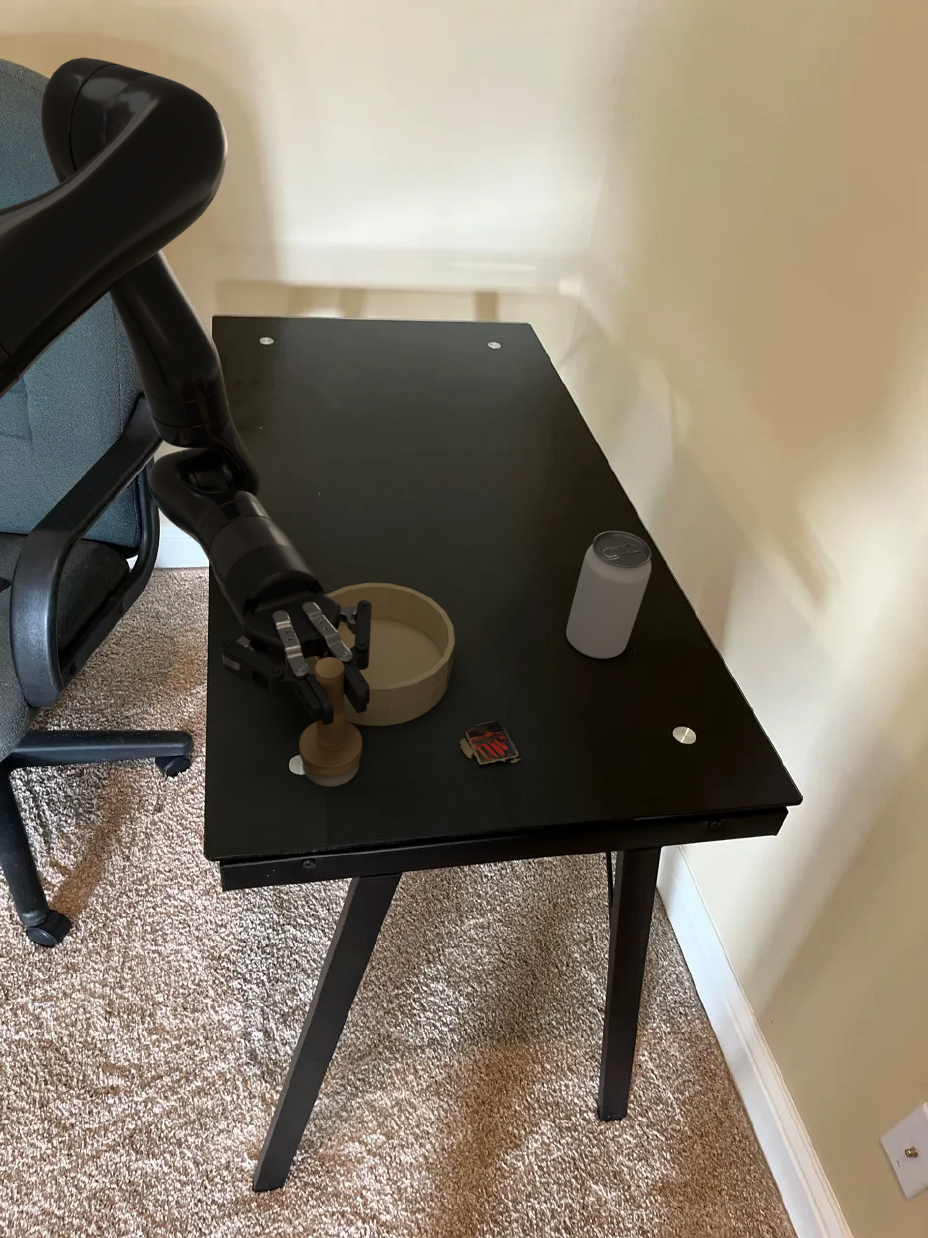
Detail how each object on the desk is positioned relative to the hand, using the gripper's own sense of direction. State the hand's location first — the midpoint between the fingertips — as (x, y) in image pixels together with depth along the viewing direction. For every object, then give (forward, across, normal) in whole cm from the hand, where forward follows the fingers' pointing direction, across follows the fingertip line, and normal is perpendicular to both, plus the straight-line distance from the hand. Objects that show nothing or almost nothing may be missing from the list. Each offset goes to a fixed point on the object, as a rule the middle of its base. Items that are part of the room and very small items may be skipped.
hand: (346, 710), depth 63 cm
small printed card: (+1, +13, +10) cm, 17 cm away
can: (-6, +31, +10) cm, 33 cm away
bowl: (-11, +8, +10) cm, 17 cm away
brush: (-3, 0, +10) cm, 10 cm away
